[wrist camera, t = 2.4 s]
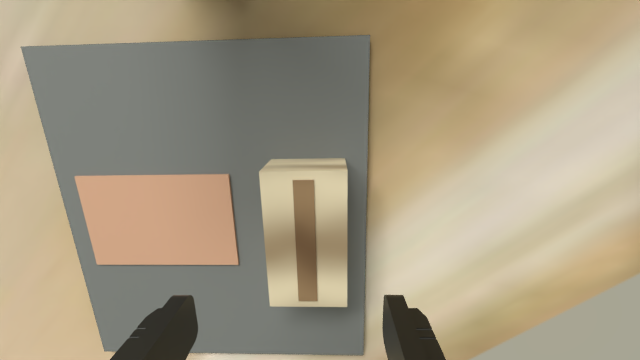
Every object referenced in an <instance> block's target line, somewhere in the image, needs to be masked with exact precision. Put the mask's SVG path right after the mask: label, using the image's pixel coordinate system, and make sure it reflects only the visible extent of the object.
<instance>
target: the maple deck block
mask: <svg viewBox="0 0 640 360" xmlns="http://www.w3.org/2000/svg"><path fill="white" fill-rule="evenodd" d="M259 180H260V192H261V204H262V216H263V228H264V241H265V253H266V265H267V277H268V290H269V302H270V306H272V307H347V198H348V170H347V165H346V161H345V158H317V159H271V160H270V161H269V162H268V163H267V164H266V165H265V166H264V167H263V168H262V169H261V170H260V171H259Z"/></svg>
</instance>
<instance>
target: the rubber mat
mask: <svg viewBox="0 0 640 360" xmlns="http://www.w3.org/2000/svg"><path fill="white" fill-rule="evenodd" d="M21 49H22V53H23V56H24V60H25V64H26V67H27V71H28V74H29V78H30V82H31V85H32V89H33V93H34V96H35V100H36V104H37V107H38V111H39V115H40V118H41V122H42V125H43V129H44V133H45V136H46V140H47V144H48V147H49V151H50V155H51V158H52V162H53V166H54V169H55V173H56V176H57V180H58V184H59V187H60V191H61V195H62V198H63V202H64V206H65V209H66V213H67V217H68V220H69V224H70V227H71V231H72V235H73V238H74V242H75V246H76V249H77V253H78V257H79V260H80V264H81V268H82V271H83V275H84V278H85V282H86V286H87V289H88V293H89V297H90V300H91V304H92V308H93V311H94V315H95V319H96V322H97V326H98V329H99V333H100V337H101V340H102V344H103V348H104V351H118V349H119V348H120V347H121V346H122V345H123V343H124V342H125V341H126V340H127V339H128V338H129V337H130V335H131V334H132V333H133V332H134V330H136V329H137V327H138V326H139V324H140V323H141V322H142V321H143V320H144V318H145V317H146V316H148V315H149V314H151V313H152V312H153V311H155V310H156V309H158V308H162V307H163V306H164V305H165V304H166V302H167V301H168V300H169V299H170V297H171V296H173V295H192V296H193V298H194V303H195V309H196V315H197V322H198V334H197V338H196V341H195V343H194V345H193V347H192V349H191V350H190V352H189V353H247V354H312V355H363V350H364V301H365V253H366V204H367V156H368V108H369V59H370V35H357V36H327V37H297V38H267V39H237V40H207V41H177V42H147V43H117V44H87V45H57V46H27V47H21ZM317 158H345V161H346V165H347V170H348V198H347V307H272V306H270V302H269V290H268V277H267V265H266V253H265V241H264V228H263V216H262V204H261V192H260V180H259V171H260V170H261V169H262V168H263V167H264V166H265V165H266V164H267V163H268V162H269V161H270V160H271V159H317Z"/></svg>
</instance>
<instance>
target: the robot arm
mask: <svg viewBox="0 0 640 360" xmlns="http://www.w3.org/2000/svg"><path fill="white" fill-rule="evenodd" d="M197 334H198V322H197V315H196V309H195V303H194V298H193V296H192V295H173V296H171V297H170V299H169V300H168V301H167V302H166V304H165V305H164V306H163V307H162V308H158V309H156V310H155V311H153V312H152V313H151V314H149V315H148V316H146V317H145V318H144V320H143V321H142V322H141V323H140V324H139V326H138V327H137V329H136V330H134V332H133V333H132V334H131V335H130V337H129V338H128V339H127V340H126V341H125V342H124V343H123V345H122V346H121V347H120V348H119V349H118V351H117V352H116V353H115V354H114V355H113V357H112V358H111V359H110V360H186V358H187V356H188V354H189V352H190V350H191V349H192V347H193V345H194V343H195V341H196V338H197ZM383 339H384V344H385V349H386V353H387V357H388V360H446V359H445V357H444V354H443V352H442V350H441V348H440V346H439V343H438V341H437V340H436V337H435V335H434V332H433V330H432V328H431V326H430V324H429V321H428V319H427V317H426V316H425V315H424V314H423V313H422V312H421V311H420V310H419V309H418V308H408V306H407V304H406V301H405V299H404V296H403V295H384V305H383Z"/></svg>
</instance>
